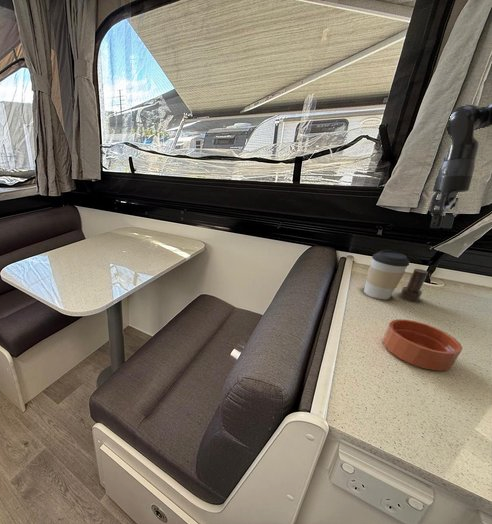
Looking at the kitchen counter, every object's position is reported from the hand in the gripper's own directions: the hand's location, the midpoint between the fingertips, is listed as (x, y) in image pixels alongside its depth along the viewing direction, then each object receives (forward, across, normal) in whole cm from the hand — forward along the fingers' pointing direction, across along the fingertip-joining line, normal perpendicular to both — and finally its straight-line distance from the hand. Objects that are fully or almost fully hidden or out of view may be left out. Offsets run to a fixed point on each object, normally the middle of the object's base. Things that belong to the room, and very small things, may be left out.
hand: (440, 228), depth 87 cm
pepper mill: (+23, -8, +1) cm, 24 cm away
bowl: (+30, -37, -12) cm, 49 cm away
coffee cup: (+23, -14, +7) cm, 28 cm away
